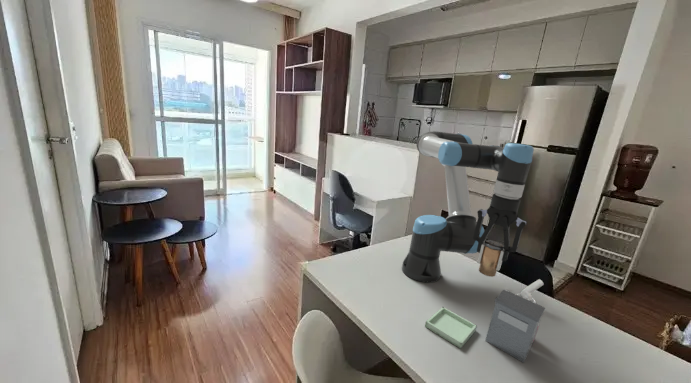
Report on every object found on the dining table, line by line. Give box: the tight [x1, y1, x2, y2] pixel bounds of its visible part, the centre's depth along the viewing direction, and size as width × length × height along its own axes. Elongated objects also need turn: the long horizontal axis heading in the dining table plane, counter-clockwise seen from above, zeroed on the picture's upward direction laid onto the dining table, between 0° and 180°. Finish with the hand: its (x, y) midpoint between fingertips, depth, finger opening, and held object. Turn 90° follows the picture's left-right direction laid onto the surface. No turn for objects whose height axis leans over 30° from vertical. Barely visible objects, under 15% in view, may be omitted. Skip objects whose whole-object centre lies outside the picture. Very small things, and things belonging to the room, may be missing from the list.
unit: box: [484, 289, 546, 364], centre depth 82 cm, size 11×8×14 cm
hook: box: [515, 278, 545, 304], centre depth 104 cm, size 8×12×7 cm
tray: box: [424, 306, 478, 350], centre depth 88 cm, size 11×11×2 cm
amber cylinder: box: [478, 239, 504, 278], centre depth 93 cm, size 5×5×10 cm
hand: (488, 265), depth 94 cm, fingers closed on amber cylinder, 5 cm apart
